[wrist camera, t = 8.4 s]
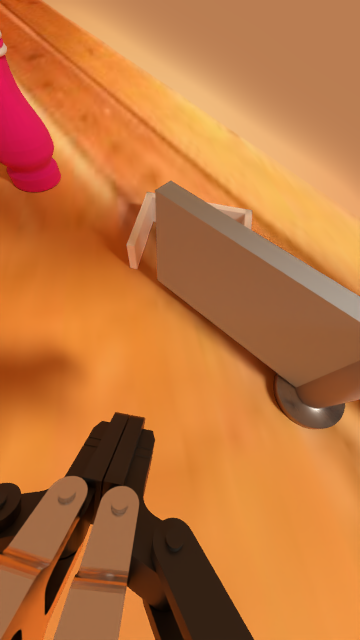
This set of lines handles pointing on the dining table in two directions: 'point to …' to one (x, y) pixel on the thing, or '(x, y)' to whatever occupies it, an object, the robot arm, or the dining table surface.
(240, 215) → the pocket
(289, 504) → the dining table surface
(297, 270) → the paddle
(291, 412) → the lever base
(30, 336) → the dining table surface
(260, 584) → the dining table surface
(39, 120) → the pepper mill
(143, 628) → the dining table surface
